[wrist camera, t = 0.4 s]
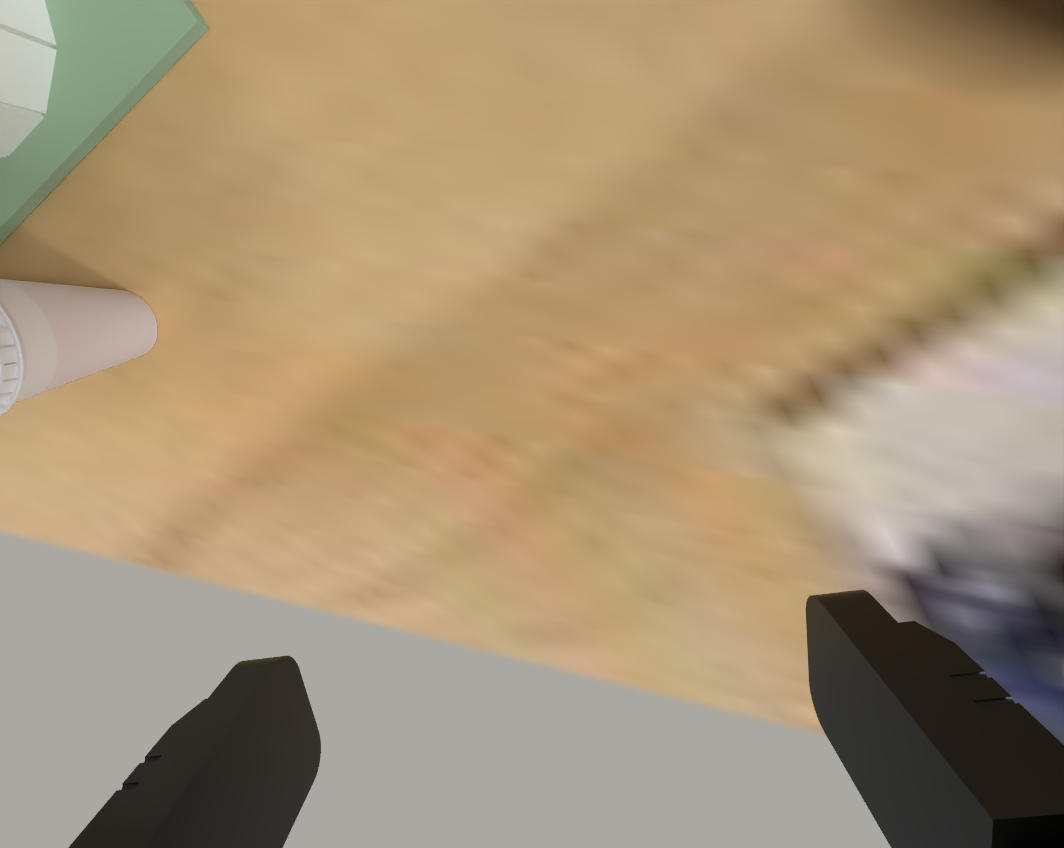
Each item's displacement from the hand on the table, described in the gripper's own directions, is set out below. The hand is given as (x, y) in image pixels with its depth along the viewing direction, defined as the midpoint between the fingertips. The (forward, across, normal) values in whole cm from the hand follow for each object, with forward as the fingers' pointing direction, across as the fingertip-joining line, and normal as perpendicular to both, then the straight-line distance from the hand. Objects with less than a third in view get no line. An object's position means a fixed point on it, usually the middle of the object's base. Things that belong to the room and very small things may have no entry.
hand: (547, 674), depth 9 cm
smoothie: (+24, +23, -7) cm, 34 cm away
